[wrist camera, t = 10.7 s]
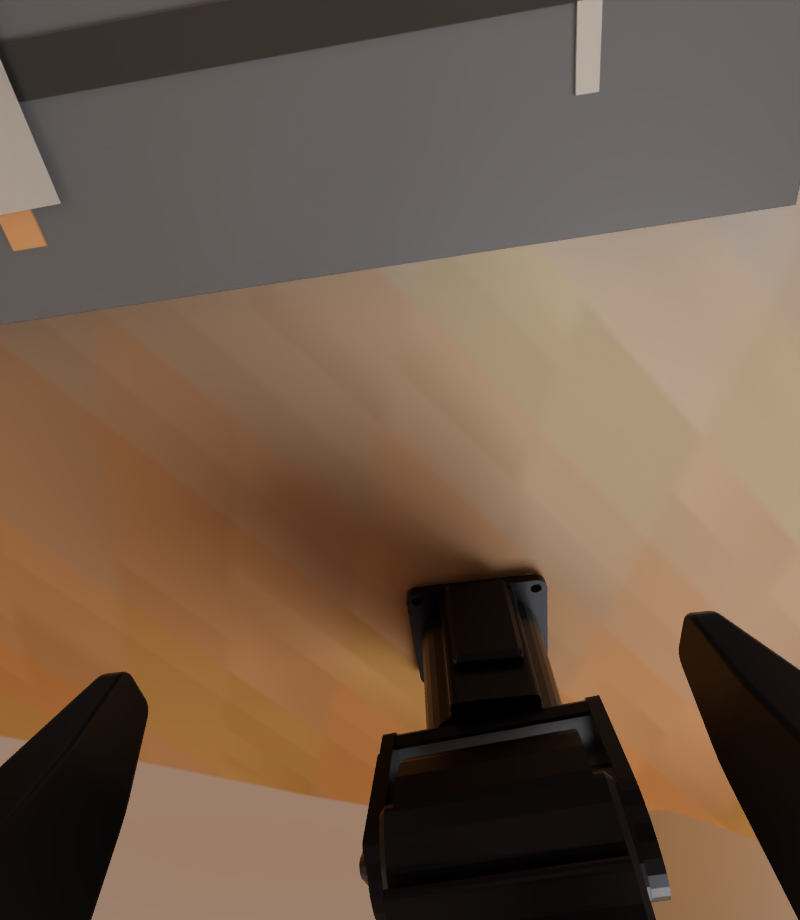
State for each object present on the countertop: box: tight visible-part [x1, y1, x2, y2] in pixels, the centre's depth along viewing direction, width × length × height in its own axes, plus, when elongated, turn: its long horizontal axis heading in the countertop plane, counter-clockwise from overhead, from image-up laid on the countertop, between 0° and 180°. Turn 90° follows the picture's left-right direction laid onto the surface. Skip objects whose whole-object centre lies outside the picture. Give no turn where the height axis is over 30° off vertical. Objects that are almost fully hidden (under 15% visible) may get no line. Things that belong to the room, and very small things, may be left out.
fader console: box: [0, 0, 800, 325], centre depth 14 cm, size 12×30×2 cm, turn 98°
